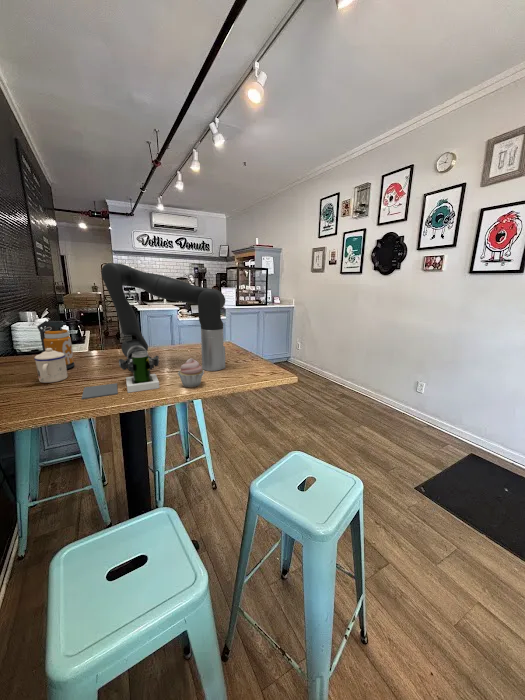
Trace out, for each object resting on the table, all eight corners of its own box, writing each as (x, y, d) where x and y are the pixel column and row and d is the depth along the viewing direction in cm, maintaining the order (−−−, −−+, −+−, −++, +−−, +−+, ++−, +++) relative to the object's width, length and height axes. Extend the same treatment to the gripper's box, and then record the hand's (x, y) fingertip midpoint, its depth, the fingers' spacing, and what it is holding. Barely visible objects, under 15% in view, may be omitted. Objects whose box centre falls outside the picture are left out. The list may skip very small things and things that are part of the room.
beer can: (136, 389, 97) (132, 355, 94) (133, 384, 101) (130, 352, 98) (152, 386, 100) (149, 353, 97) (148, 381, 104) (146, 350, 101)
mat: (117, 384, 101) (117, 383, 101) (117, 394, 92) (117, 393, 92) (84, 388, 97) (84, 387, 96) (81, 399, 88) (81, 398, 88)
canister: (65, 371, 113) (57, 322, 108) (37, 371, 113) (28, 321, 108) (79, 365, 122) (73, 319, 117) (54, 364, 122) (46, 318, 117)
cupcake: (191, 391, 96) (190, 363, 94) (172, 385, 101) (171, 358, 99) (210, 383, 104) (209, 357, 101) (192, 378, 109) (191, 353, 106)
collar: (155, 379, 107) (155, 373, 106) (159, 388, 98) (159, 382, 98) (126, 383, 102) (125, 377, 102) (127, 392, 94) (127, 386, 93)
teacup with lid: (43, 376, 108) (38, 346, 105) (71, 374, 111) (67, 345, 108) (30, 387, 97) (24, 354, 94) (61, 384, 100) (56, 352, 97)
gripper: (116, 348, 107) (117, 359, 92) (156, 345, 113) (163, 355, 99) (118, 367, 109) (119, 381, 94) (157, 363, 115) (164, 375, 100)
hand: (141, 368), depth 96 cm, fingers closed on beer can, 5 cm apart
